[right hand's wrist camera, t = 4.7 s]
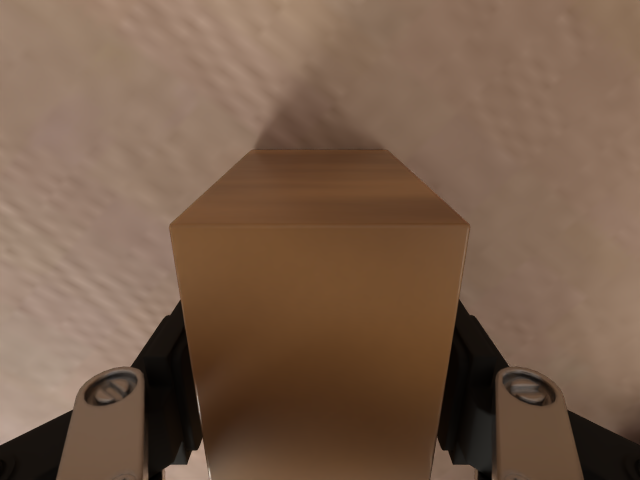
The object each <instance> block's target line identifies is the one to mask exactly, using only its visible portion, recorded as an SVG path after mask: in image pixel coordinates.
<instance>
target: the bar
mask: <svg viewBox="0 0 640 480" xmlns="http://www.w3.org/2000/svg"><path fill="white" fill-rule="evenodd" d="M169 229H170V236H171V242H172V248H173V254H174V261H175V267H176V273H177V279H178V286H179V292H180V298H181V304H182V311H183V317H184V323H185V330H186V336H187V342H188V348H189V355H190V361H191V367H192V373H193V380H194V386H195V392H196V398H197V405H198V411H199V417H200V423H201V430H202V436H203V442H204V449H205V455H206V461H207V467H208V474H209V480H430V477H431V471H432V464H433V458H434V452H435V446H436V439H437V433H438V427H439V420H440V414H441V408H442V401H443V395H444V389H445V383H446V376H447V370H448V364H449V357H450V351H451V345H452V339H453V332H454V326H455V320H456V313H457V307H458V301H459V294H460V288H461V282H462V276H463V269H464V263H465V257H466V250H467V244H468V238H469V232H470V225H469V223H468V222H466V221H465V220H464V219H463V218H462V217H461V216H460V215H459V214H458V213H457V212H455V211H454V210H453V209H452V208H451V207H450V206H449V205H448V204H447V203H446V202H444V201H443V200H442V199H441V198H440V197H439V196H438V195H437V194H436V193H434V192H433V191H432V190H431V189H430V188H429V187H428V186H427V185H426V184H425V183H423V182H422V181H421V180H420V179H419V178H418V177H417V176H416V175H415V174H414V173H412V172H411V171H410V170H409V169H408V168H407V167H406V166H405V165H404V164H402V163H401V162H400V161H399V160H398V159H397V158H396V157H395V156H394V155H393V154H391V153H390V152H389V151H388V150H251V151H250V152H249V153H247V154H246V155H245V156H244V157H243V158H242V159H241V160H240V161H239V162H238V163H237V164H235V165H234V166H233V167H232V168H231V169H230V170H229V171H228V172H227V173H226V174H225V175H223V176H222V177H221V178H220V179H219V180H218V181H217V182H216V183H215V184H214V185H212V186H211V187H210V188H209V189H208V190H207V191H206V192H205V193H204V194H203V195H202V196H200V197H199V198H198V199H197V200H196V201H195V202H194V203H193V204H192V205H191V206H190V207H188V208H187V209H186V210H185V211H184V212H183V213H182V214H181V215H180V216H179V217H177V218H176V219H175V220H174V221H173V222H172V223H171V224H170V226H169Z"/></svg>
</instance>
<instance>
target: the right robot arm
mask: <svg viewBox="0 0 640 480" xmlns="http://www.w3.org/2000/svg"><path fill="white" fill-rule="evenodd" d="M202 437H203V436H202V430H201V423H200V417H199V411H198V405H197V398H196V392H195V386H194V380H193V373H192V367H191V361H190V355H189V348H188V342H187V336H186V330H185V323H184V317H183V311H182V304H181V300H180V301H179V303H178V304H177V306H176V307H175V309H174V310H173V312H172V313H171V315H168V316H165V318H164V319H163V320H162V321H161V323H160V324H159V326H158V327H157V329H156V330H155V332H154V333H153V335H152V336H151V338H150V339H149V341H148V342H147V344H146V345H145V346H144V348H143V349H142V351H141V352H140V354H139V355H138V357H137V358H136V360H135V361H134V363H133V364H132V366H131V367H118V368H113V369H109V370H106V371H104V372H102V373H100V374H98V375H96V376H94V377H92V378H91V379H90V380H88V381H87V382H86V383H85V384H84V385H83V386H82V387H81V388H80V390H79V392H78V394H77V396H76V400H75V404H74V408H73V410H71V411H69V412H67V413H65V414H63V415H61V416H59V417H57V418H55V419H53V420H51V421H49V422H47V423H45V424H43V425H41V426H39V427H37V428H35V429H33V430H31V431H29V432H27V433H25V434H23V435H21V436H19V437H17V438H15V439H13V440H10V441H8V442H6V443H4V444H2V445H0V480H165V469H164V468H166V467H167V466H169V465H187V463H188V460H189V457H190V455H191V452H192V450H198V448H199V446H200V443H201V440H202ZM437 437H438V440H439V443H440V446H441V448H442V450H448V452H449V455H450V457H451V460H452V463H453V465H471V466H473V467H474V468H475V480H640V445H638V444H636V443H634V442H632V441H630V440H627V439H625V438H623V437H621V436H619V435H617V434H615V433H613V432H611V431H609V430H607V429H605V428H603V427H601V426H599V425H597V424H595V423H593V422H591V421H589V420H587V419H585V418H583V417H581V416H579V415H577V414H575V413H573V412H571V411H569V410H567V408H566V404H565V400H564V396H563V394H562V392H561V390H560V388H559V387H558V386H557V385H556V384H555V383H554V382H553V381H552V380H550V379H549V378H548V377H546V376H544V375H542V374H540V373H538V372H536V371H534V370H531V369H527V368H522V367H509V366H508V364H507V363H506V361H505V360H504V358H503V357H502V355H501V354H500V352H499V351H498V349H497V348H496V346H495V345H494V344H493V342H492V341H491V339H490V338H489V336H488V335H487V333H486V332H485V330H484V329H483V327H482V326H481V324H480V323H479V321H478V320H477V319H476V318H475V316H472V315H469V313H468V312H467V310H466V309H465V307H464V306H463V304H462V303H461V301H460V300H459V301H458V307H457V313H456V320H455V326H454V332H453V339H452V345H451V351H450V357H449V364H448V370H447V376H446V383H445V389H444V395H443V401H442V408H441V414H440V420H439V427H438V433H437Z"/></svg>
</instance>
